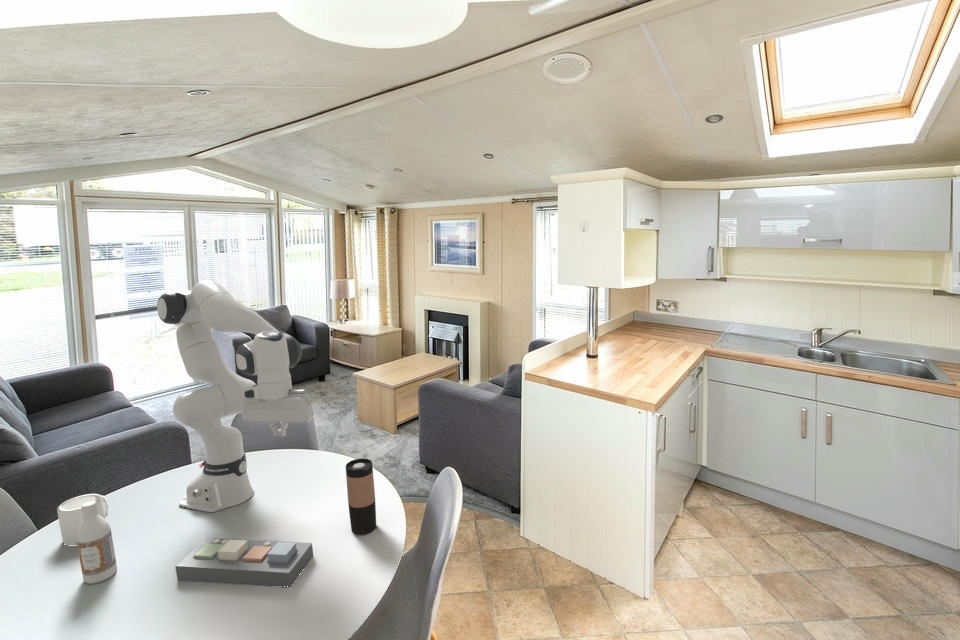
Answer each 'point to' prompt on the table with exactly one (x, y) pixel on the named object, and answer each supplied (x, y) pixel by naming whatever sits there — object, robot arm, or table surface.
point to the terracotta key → (257, 554)
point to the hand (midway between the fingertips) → (280, 435)
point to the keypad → (244, 566)
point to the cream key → (233, 550)
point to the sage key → (208, 551)
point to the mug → (77, 515)
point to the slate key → (282, 552)
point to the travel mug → (361, 496)
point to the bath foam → (95, 546)
